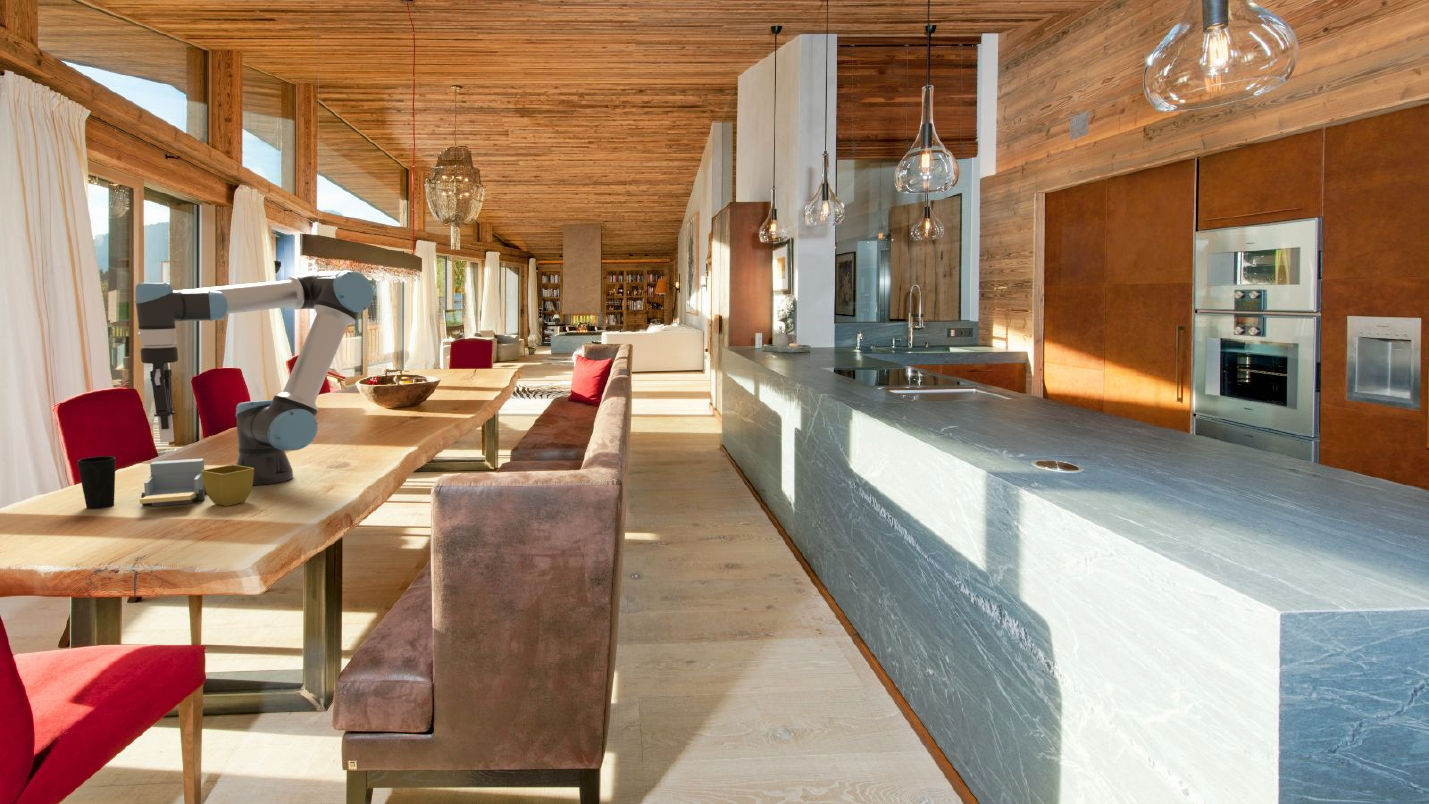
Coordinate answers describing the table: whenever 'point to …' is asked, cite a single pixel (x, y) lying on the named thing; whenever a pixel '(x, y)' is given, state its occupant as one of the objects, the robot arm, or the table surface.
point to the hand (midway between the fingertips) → (167, 441)
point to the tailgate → (168, 497)
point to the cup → (98, 481)
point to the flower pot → (228, 484)
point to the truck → (175, 480)
